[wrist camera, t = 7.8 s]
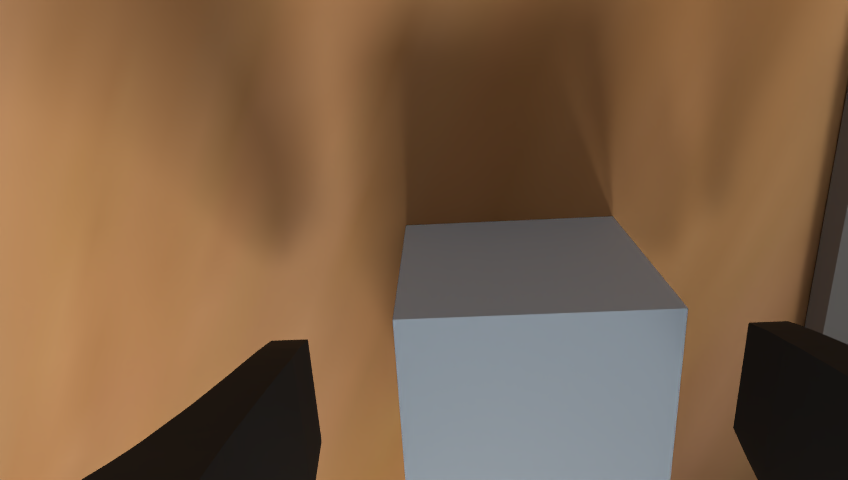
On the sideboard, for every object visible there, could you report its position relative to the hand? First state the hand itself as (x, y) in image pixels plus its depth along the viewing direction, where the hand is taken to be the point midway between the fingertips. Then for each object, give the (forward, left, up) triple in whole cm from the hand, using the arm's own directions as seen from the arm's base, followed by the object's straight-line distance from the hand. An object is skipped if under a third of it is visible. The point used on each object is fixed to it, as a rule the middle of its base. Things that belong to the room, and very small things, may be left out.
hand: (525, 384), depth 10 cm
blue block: (0, 0, -3) cm, 3 cm away
